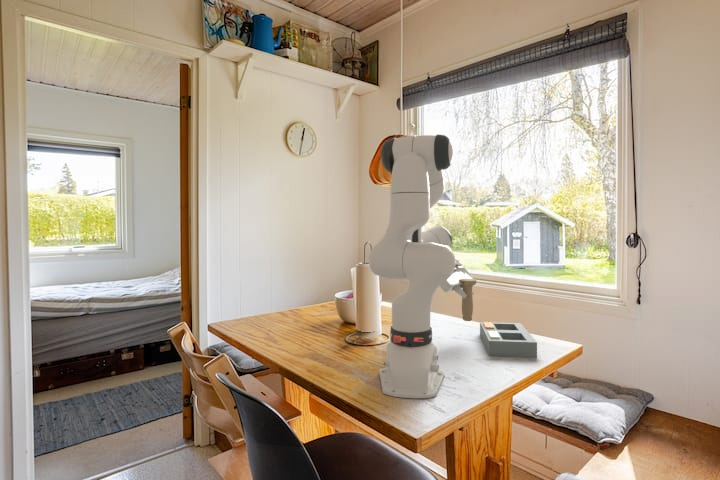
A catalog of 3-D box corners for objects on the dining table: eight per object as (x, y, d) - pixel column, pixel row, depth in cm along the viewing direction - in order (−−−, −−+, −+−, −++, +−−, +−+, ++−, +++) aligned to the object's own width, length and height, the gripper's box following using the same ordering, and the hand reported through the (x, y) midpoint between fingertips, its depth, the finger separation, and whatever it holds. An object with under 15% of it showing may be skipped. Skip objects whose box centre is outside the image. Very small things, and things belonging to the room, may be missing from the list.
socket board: (536, 357, 130) (537, 340, 130) (488, 355, 133) (488, 338, 132) (520, 336, 154) (520, 321, 153) (480, 334, 156) (480, 320, 156)
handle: (470, 323, 143) (470, 281, 143) (456, 319, 149) (456, 279, 148) (478, 320, 146) (478, 280, 146) (464, 317, 152) (464, 278, 151)
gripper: (436, 264, 143) (462, 294, 137) (462, 260, 159) (485, 287, 153) (425, 276, 146) (450, 306, 140) (451, 271, 162) (474, 297, 156)
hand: (468, 296), depth 147 cm, fingers closed on handle, 3 cm apart
